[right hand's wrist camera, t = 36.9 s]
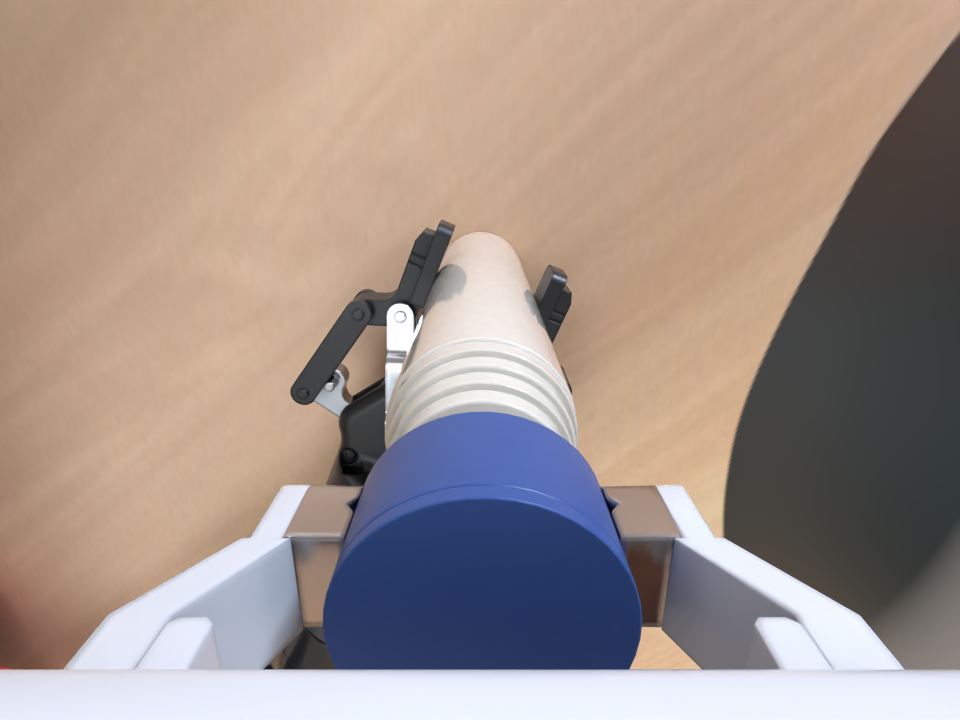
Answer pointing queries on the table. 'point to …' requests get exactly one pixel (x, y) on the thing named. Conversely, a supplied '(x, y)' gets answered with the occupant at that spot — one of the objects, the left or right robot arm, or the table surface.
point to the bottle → (481, 347)
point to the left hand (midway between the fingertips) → (502, 249)
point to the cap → (482, 557)
